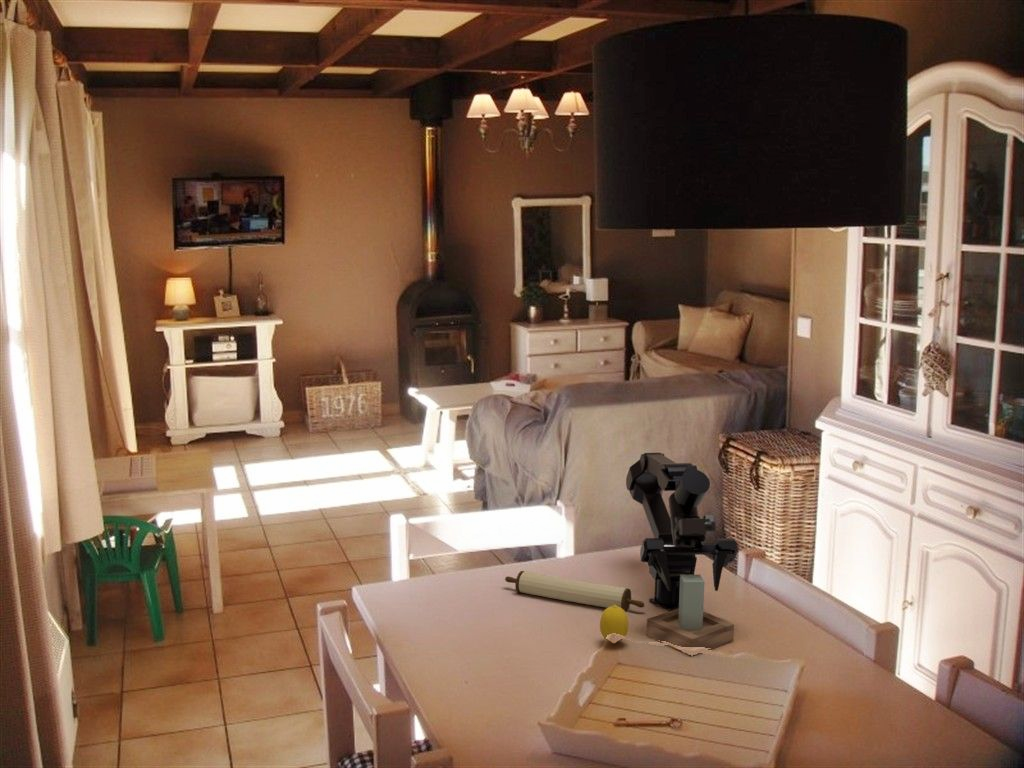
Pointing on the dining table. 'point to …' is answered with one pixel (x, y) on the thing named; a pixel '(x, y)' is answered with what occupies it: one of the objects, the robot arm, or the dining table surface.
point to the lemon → (614, 621)
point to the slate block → (691, 602)
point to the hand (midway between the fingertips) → (693, 590)
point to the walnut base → (709, 637)
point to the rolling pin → (573, 590)
